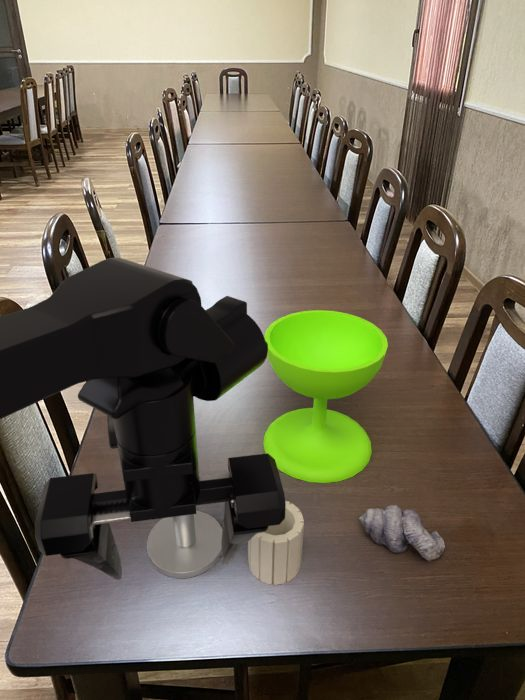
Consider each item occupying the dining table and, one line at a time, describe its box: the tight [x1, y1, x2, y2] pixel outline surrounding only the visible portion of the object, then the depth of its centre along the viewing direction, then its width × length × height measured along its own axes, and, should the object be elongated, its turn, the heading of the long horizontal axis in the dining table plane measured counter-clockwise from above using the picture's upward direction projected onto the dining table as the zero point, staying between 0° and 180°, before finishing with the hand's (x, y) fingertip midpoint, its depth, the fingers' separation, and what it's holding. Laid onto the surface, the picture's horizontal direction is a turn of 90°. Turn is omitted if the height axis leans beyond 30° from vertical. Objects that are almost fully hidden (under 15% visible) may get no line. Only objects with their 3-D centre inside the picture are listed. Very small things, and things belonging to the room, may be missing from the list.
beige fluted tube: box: [247, 500, 305, 586], centre depth 60 cm, size 6×6×7 cm
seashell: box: [359, 504, 446, 562], centre depth 63 cm, size 5×5×10 cm
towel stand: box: [146, 510, 223, 579], centre depth 61 cm, size 9×9×9 cm
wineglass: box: [262, 309, 389, 484], centre depth 75 cm, size 16×16×18 cm
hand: (172, 567), depth 47 cm, fingers open, 9 cm apart
